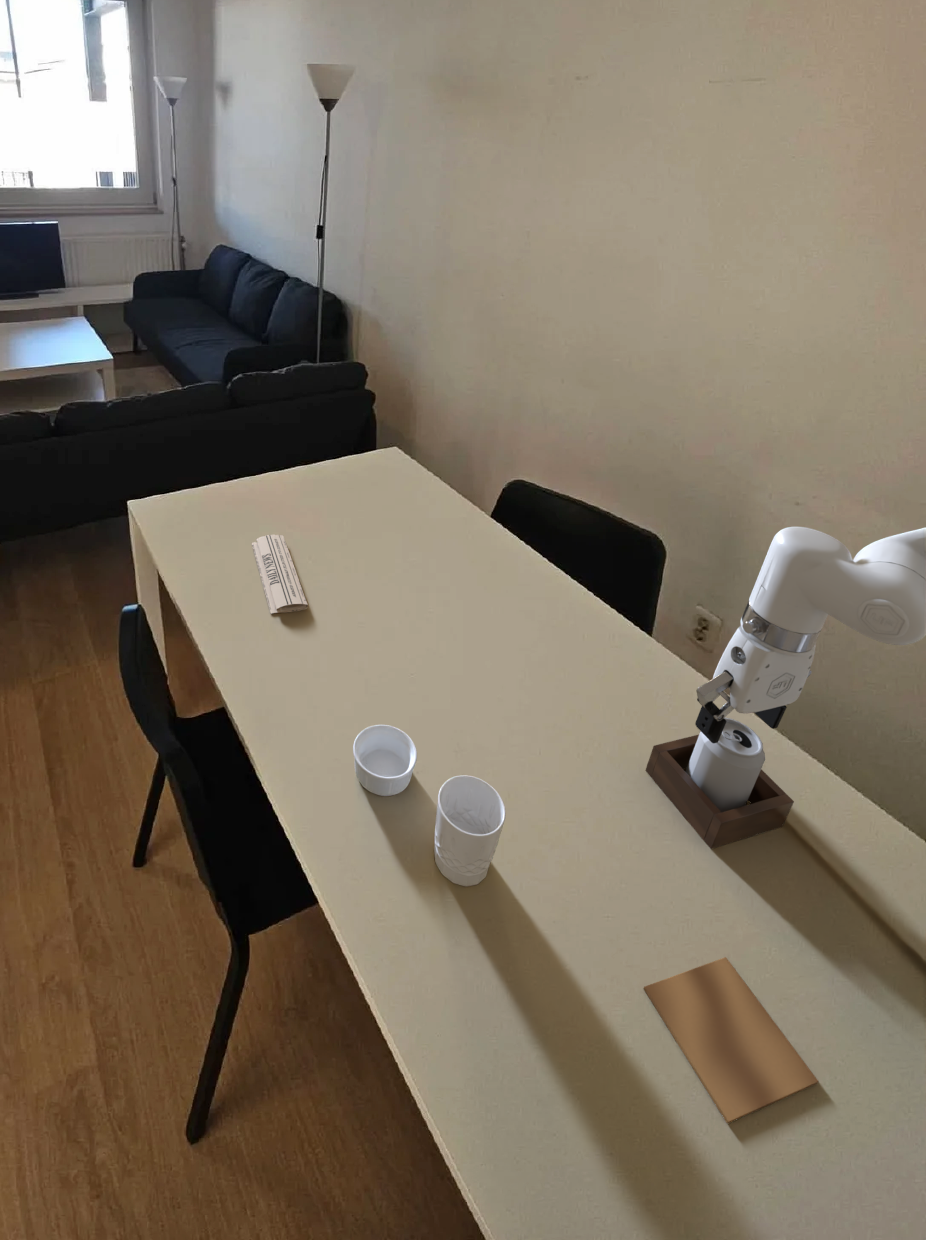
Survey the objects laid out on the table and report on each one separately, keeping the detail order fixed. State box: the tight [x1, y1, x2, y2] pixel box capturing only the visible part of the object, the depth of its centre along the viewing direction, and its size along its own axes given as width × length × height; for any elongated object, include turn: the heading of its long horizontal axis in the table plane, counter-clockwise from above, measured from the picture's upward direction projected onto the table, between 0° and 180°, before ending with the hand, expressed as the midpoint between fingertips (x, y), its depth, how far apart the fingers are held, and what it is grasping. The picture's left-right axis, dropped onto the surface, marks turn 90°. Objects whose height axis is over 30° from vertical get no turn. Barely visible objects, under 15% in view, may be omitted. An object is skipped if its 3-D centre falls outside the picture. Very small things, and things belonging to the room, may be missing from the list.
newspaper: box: [251, 534, 309, 615], centre depth 135 cm, size 24×7×2 cm, turn 13°
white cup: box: [433, 774, 507, 887], centre depth 81 cm, size 8×8×10 cm
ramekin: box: [352, 724, 418, 797], centre depth 93 cm, size 9×9×4 cm
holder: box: [645, 734, 795, 850], centre depth 92 cm, size 12×12×5 cm
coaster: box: [642, 956, 819, 1124], centre depth 68 cm, size 11×11×1 cm
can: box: [685, 717, 766, 813], centre depth 90 cm, size 8×8×12 cm
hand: (735, 727), depth 88 cm, fingers open, 9 cm apart
